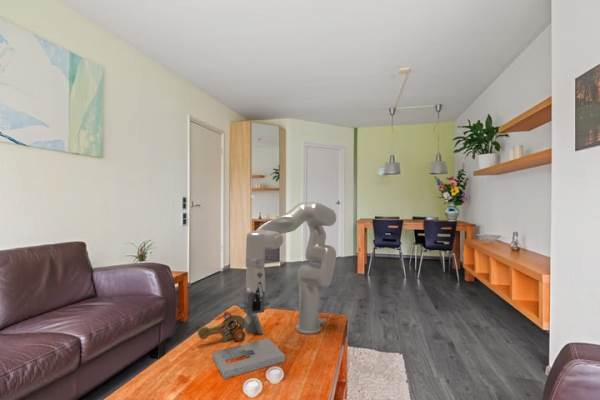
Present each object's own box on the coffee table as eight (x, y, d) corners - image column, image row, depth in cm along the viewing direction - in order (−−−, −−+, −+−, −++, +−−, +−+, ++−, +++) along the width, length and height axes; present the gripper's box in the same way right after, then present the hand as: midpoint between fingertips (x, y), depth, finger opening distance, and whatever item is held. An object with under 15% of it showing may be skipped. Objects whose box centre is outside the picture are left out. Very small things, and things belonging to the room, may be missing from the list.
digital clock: (263, 335, 138) (263, 312, 138) (243, 337, 136) (244, 314, 136) (261, 321, 154) (261, 301, 154) (243, 323, 152) (243, 302, 152)
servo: (265, 307, 122) (265, 284, 123) (269, 311, 119) (270, 287, 119) (237, 312, 116) (238, 287, 117) (241, 316, 112) (242, 290, 113)
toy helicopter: (247, 339, 133) (247, 309, 134) (200, 351, 122) (201, 318, 122) (240, 332, 140) (241, 304, 140) (195, 343, 129) (196, 312, 129)
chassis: (268, 344, 129) (268, 338, 129) (284, 361, 116) (284, 354, 116) (212, 357, 117) (213, 351, 117) (224, 378, 104) (224, 371, 104)
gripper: (272, 266, 113) (271, 314, 112) (255, 258, 127) (254, 301, 127) (254, 267, 109) (253, 317, 108) (239, 260, 123) (237, 303, 123)
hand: (253, 308), depth 117 cm, fingers closed on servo, 4 cm apart
